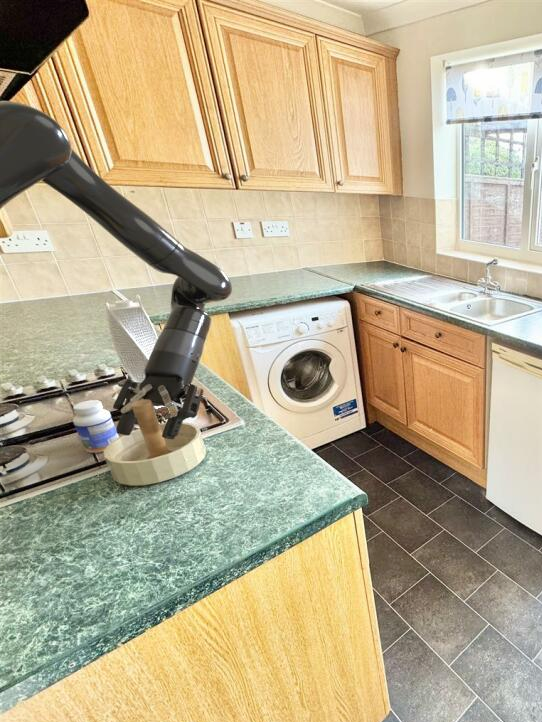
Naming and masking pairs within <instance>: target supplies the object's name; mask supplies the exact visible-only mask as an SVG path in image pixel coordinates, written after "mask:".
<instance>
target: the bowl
mask: <svg viewBox="0 0 542 722" xmlns="http://www.w3.org/2000/svg"><path fill="white" fill-rule="evenodd" d="M166 423H167V422H162V423H159V425H160V428H161V431H162V433H163V431H164V428H165V425H166ZM164 439H165V442H166V445H167V448H168V450H170V451H173V452H171V453H169V454H166V455H162V456H159V457H155V458H152V459H147V458H148V457H149V456H150V454H149V452H148V449H147V446H146V444H145V441H144V438H143V435H142V433H141V430H140V428H137V429H134V430H132V432H131V434H130V435H129V436H126V435H121V436H119V438H117V439H116V440H114V441H113V442H111V443H110V444H109V445H108V446H107V447H106V449H105V450H104V451H103V458H104V460H105V463H106V465H107V467H108V469H109V472H110V474H111V476H112V478H113V480H114V481H115V482H117V483H118V484H119V485H120V484H121V485H126V486H147V485H151V484H158V483H162V482H165V481H168V480H171V479H174V478H177V477H179V476H181V475H183V474H185V473H188V472H189V471H191V470H193V469H194V468H196V467H197V466H199V464H200V463H201V462H202V461H203V460H204V459H205V457H206V454H207V447H206V445H205V441H204V438H203V435H202V432H201V430H200V427H199V426H198V425H196V424H194V423H191V422H184V421H183V422H182V424H181V427H180V430H179V433H178V435H177V436H175V438H174V439H167V438H164Z"/></svg>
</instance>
